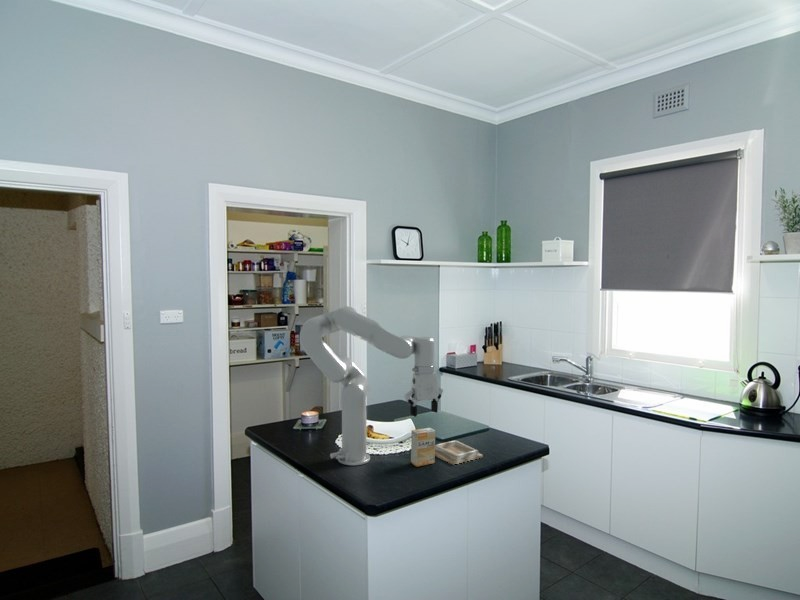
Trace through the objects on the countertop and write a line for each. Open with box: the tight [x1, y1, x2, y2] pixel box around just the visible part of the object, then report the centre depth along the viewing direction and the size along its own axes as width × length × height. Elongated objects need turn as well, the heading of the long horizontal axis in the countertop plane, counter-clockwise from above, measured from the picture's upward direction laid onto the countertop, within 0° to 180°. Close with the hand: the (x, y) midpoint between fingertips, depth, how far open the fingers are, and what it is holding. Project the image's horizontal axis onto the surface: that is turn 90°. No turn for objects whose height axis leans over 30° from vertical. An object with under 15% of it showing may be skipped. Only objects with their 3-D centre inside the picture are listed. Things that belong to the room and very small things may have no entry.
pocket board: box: [435, 440, 484, 466], centre depth 201 cm, size 15×15×3 cm
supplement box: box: [410, 427, 436, 467], centre depth 192 cm, size 8×5×13 cm, turn 117°
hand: (424, 413), depth 192 cm, fingers open, 9 cm apart
